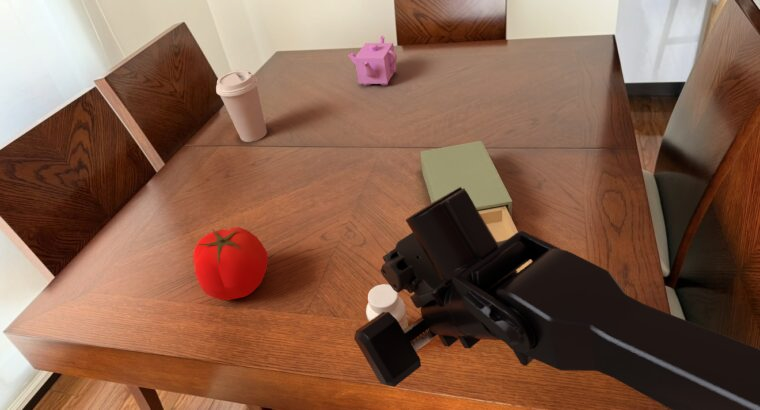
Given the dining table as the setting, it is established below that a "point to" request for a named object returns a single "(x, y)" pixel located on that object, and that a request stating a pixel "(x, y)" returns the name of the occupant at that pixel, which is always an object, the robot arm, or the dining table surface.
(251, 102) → the coffee cup
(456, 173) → the cabinet
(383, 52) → the teapot
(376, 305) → the supplement bottle
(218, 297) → the tomato
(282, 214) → the dining table surface
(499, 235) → the drawer
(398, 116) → the dining table surface
